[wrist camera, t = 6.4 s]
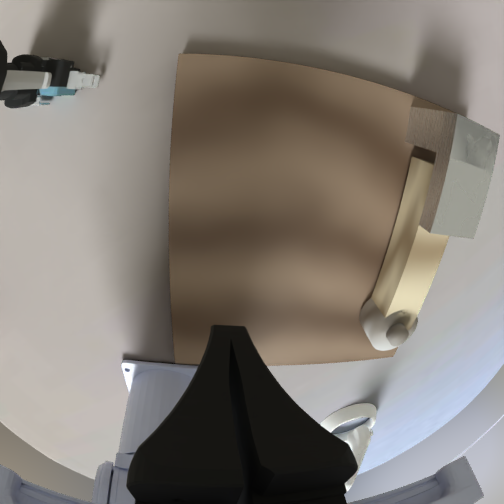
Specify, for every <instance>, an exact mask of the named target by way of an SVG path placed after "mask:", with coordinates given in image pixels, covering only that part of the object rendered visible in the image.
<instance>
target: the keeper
mask: <svg viewBox="0 0 504 504" xmlns="http://www.w3.org/2000/svg"><path fill="white" fill-rule="evenodd" d="M499 137H500V135H499V134H497V133H495V132H493V131H491V130H490V129H488V128H486V127H484V126H482V125H480V124H478V123H476V122H474V121H472V120H470V119H468V118H466V117H464V116H461V115H459V114H456V113H451V112H445V111H438V110H431V109H424V108H417V107H410V114H409V121H408V127H407V133H406V138H405V142H406V143H409V144H413V145H416V146H419V147H422V148H425V149H428V150H431V151H434V152H437V153H436V158H435V163H434V167H433V172H432V176H431V180H430V185H429V189H428V193H427V196H426V200H425V204H424V208H423V211H422V215H421V218H420V222H419V225H420V226H421V227H422V228H424V229H425V230H426V231H428V232H429V233H431V234H439V235H447V236H455V237H463V238H470V239H474V236H475V233H476V230H477V227H478V224H479V221H480V217H481V214H482V211H483V207H484V204H485V200H486V197H487V193H488V189H489V185H490V181H491V177H492V173H493V168H494V164H495V159H496V154H497V148H498V143H499Z"/></svg>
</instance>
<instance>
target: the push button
mask: <svg viewBox="0 0 504 504" xmlns="http://www.w3.org/2000/svg"><path fill="white" fill-rule="evenodd" d="M73 65H74V62H73V61H68V60H59V59H56V58H50V57H44V58H41V57H39V56H34V55H19V56H17V57H15V58H13V60H12V63H7V51H6V49H5V48H4V46H3V44H2V42H1V41H0V100H5V106H7V107H9V108H20V107H27V106H30V105H48V104H50V103H40V99H41V96H37V95H46V96H61V95H75V90H76V89H81V90H82V87H89V88H97V87H98V84H99V80H100V76H99V75H94V74H85V72H79V71H80V69H76V68H73ZM93 79H94V83H93Z"/></svg>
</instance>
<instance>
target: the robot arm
mask: <svg viewBox="0 0 504 504" xmlns="http://www.w3.org/2000/svg"><path fill="white" fill-rule="evenodd" d="M121 367H122V370H123V374H124V377H125V381H126V384H127V388H128V391H129V398H128V403H127V407H126V413H125V418H124V423H123V428H122V434H121V440H120V446H119V452H118V453H117V454H116V460H115V467H114V466H113V462H110V461H105V463H103V464H101V465H99V467H98V469H97V473H96V477H95V483H94V489H93V497H92V502H89V501H85V500H81V499H78V498H74V497H71V496H68V495H64V494H61V493H58V492H55V491H52V490H49V489H47V488H44V487H41V486H39V485H36V484H33V483H31V482H28V481H26V480H23V479H22V478H21V477H20V476H19V475H18V474H17V473H15V472H14V471H12V470H11V469H9V468H7V467H5V466H3V465H1V464H0V504H474V503H475V502H477V501H478V500H480V499H481V498H483V496H484V494H483V492H482V490H481V488H480V485H479V483H478V481H477V479H476V477H475V475H474V473H473V471H472V469H471V467H470V465H469V463H468V461H467V459H466V457H465V456H463V457H461V458H459V459H457V460H455V461H453V462H451V463H449V464H447V465H445V466H444V467H442V468H441V469H440V470H438V471H437V472H436V473H435V474H434V475H431V476H429V477H427V478H424V479H422V480H420V481H417V482H414V483H412V484H409V485H406V486H403V487H401V488H398V489H395V490H392V491H389V492H386V493H383V494H379V495H377V496H373V497H369V498H366V499H362V500H358V501H354V502H350V503H346V500H345V496H344V494H345V493H346V491H347V490H346V487H345V483H346V482H347V481H348V480H349V479H350V478H351V477H352V476H353V475H354V474H355V473H356V472H357V470H358V465H357V462H356V459H355V456H354V454H353V452H352V450H351V448H350V446H349V444H348V443H346V442H344V441H343V440H341V439H340V438H338V437H336V436H335V435H333V434H332V433H330V432H329V431H328V430H326V429H325V428H324V427H322V426H321V425H320V424H318V423H317V422H316V421H315V420H314V419H313V418H311V417H310V416H309V415H308V414H307V413H306V412H305V411H304V410H302V409H301V408H300V407H299V406H298V405H297V404H296V403H295V402H294V401H293V399H292V398H291V397H290V396H289V395H288V394H287V393H286V392H285V390H284V389H283V388H282V387H281V386H280V384H279V383H278V382H277V380H276V379H275V378H274V376H273V375H272V374H271V372H270V371H269V369H268V368H267V366H266V364H265V363H264V361H263V360H262V358H261V356H260V355H259V353H258V351H257V349H256V347H255V346H254V344H253V342H252V340H251V338H250V335H249V333H248V331H247V328H246V327H245V326H233V325H212V326H211V330H210V336H209V340H208V343H207V347H206V349H205V352H204V354H203V357H202V359H201V362H200V364H199V366H196V365H178V364H164V363H153V362H142V361H132V360H123V361H122V363H121Z"/></svg>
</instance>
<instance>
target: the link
mask: <svg viewBox="0 0 504 504" xmlns="http://www.w3.org/2000/svg"><path fill="white" fill-rule="evenodd" d="M433 167H434V163H433V162H430V161H426V160H423V159H419V158H416V157H412V158H411V163H410V167H409V172H408V176H407V181H406V185H405V189H404V193H403V197H402V201H401V205H400V209H399V212H398V216H397V220H396V223H395V227H394V230H393V234H392V237H391V240H390V244H389V247H388V250H387V253H386V256H385V259H384V262H383V266H382V269H381V271H380V274H379V277H378V280H377V283H376V286H375V289H374V291H373V294H372V297H371V298H370V299H369V300H368V301H367V302H366V303H365V305H364V306H363V308H362V309H361V312H360V315H359V321H360V324H361V326H362V327H363V329H364V331H365V333H366V335H367V336H368V338H369V340H370V342H371V344H372V346H373V347H374V348H375V349H377V350H380V351H386V350H391V349H394V348H396V347H398V346H400V345H401V344H403V343H404V342H405V341H406V340H408V339H409V337H410V336H411V335H412V334H413V332H414V331H415V329H416V326H417V322H418V319H417V315H418V313H419V311H420V309H421V307H422V304H423V302H424V300H425V298H426V295H427V293H428V291H429V288H430V286H431V284H432V281H433V279H434V276H435V274H436V271H437V269H438V266H439V264H440V261H441V258H442V256H443V253H444V250H445V247H446V244H447V242H448V239H449V236H447V235H439V234H431V233H429V232H428V231H426V230H425V229H424V228H422V227H421V226H420V225H419V222H420V218H421V215H422V211H423V208H424V204H425V200H426V196H427V193H428V189H429V185H430V180H431V176H432V172H433Z"/></svg>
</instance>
